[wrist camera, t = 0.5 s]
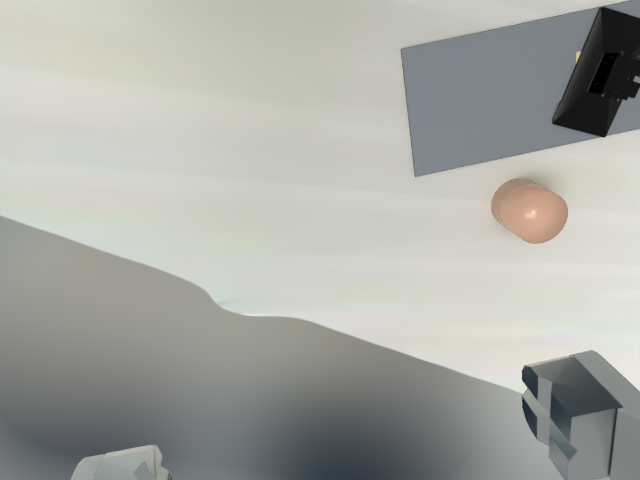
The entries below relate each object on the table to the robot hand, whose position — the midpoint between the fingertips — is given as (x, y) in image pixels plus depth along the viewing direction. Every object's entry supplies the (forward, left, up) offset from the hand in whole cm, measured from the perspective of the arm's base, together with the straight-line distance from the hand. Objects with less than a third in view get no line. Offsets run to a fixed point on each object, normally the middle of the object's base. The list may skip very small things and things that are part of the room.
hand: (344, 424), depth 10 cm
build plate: (+2, +35, -43) cm, 56 cm away
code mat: (+2, +28, -43) cm, 51 cm away
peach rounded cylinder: (+15, +25, -43) cm, 52 cm away
